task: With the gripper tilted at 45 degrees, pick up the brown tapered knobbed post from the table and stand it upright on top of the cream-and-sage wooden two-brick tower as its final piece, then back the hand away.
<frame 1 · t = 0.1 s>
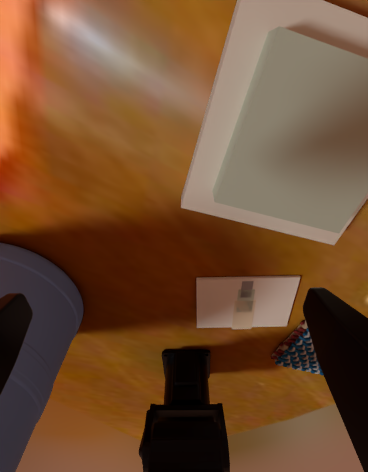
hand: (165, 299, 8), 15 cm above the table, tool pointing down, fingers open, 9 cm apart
water jug: (17, 293, 29), on the table
woven mat: (319, 338, 34), on the table
instruction card: (244, 302, 29), on the table
tower base: (292, 138, 19), on the table
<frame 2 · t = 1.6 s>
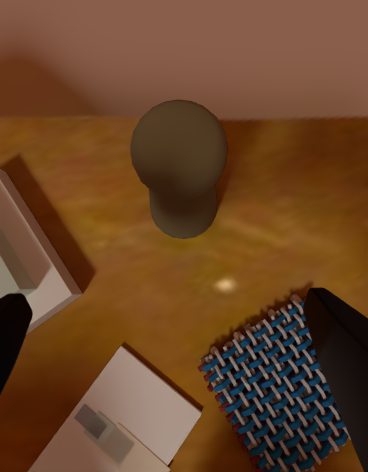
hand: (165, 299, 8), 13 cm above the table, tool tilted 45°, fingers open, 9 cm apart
woven mat: (281, 379, 20), on the table
instruction card: (116, 440, 19), on the table
brown tapered knobbed post: (183, 206, 23), on the table
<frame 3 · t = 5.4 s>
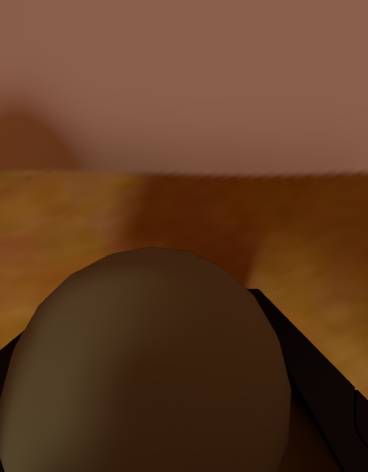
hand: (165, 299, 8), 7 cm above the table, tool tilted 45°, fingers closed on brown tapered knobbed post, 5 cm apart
brown tapered knobbed post: (177, 320, 14), on the table, touching gripper
when the fingers open (11 cm above the table, at t = 10.1 s): brown tapered knobbed post stays where it is, resting on tower base.
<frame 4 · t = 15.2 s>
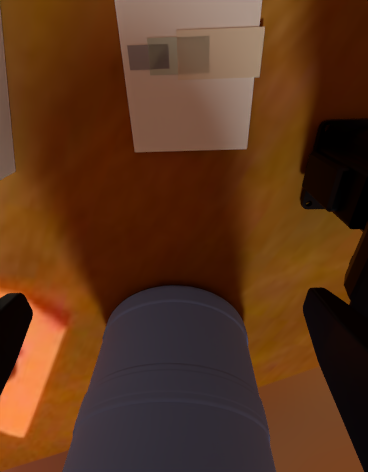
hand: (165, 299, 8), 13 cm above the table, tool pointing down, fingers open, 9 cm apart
water jug: (176, 328, 29), on the table
instruction card: (189, 56, 15), on the table
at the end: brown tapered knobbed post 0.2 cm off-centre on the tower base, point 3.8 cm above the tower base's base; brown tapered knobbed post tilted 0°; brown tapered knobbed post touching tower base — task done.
